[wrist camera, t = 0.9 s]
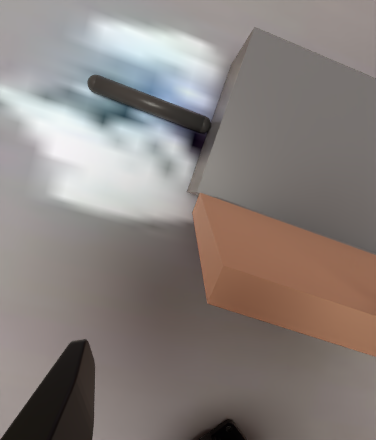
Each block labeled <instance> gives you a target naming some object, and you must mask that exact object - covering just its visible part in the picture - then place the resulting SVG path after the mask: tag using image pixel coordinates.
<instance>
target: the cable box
mask: <svg viewBox="0 0 376 440" xmlns="http://www.w3.org/2000/svg"><path fill="white" fill-rule="evenodd" d="M88 87H89V89H90V90H91V91H92V92H94V93H97V94H100V95H102V96H105V97H108V98H110V99H113V100H115V101H118V102H121V103H123V104H126V105H129V106H131V107H134V108H137V109H139V110H142V111H145V112H147V113H150V114H152V115H155V116H158V117H160V118H163V119H166V120H168V121H171V122H174V123H176V124H179V125H182V126H184V127H187V128H190V129H192V130H195V131H197V132H200V133H205V132H207V131H208V133H207V136H206V139H205V142H204V144H203V147H202V150H201V153H200V156H199V159H198V162H197V165H196V167H195V170H194V173H193V176H192V179H191V182H190V185H189V187H188V190H187V192H189V193H191V194H194V195H197V196H199V194H200V193H203V194H206V195H208V196H211V197H214V198H215V197H219V198H222V199H224V200H227V201H230V202H233V203H236V204H238V205H241V206H244V207H247V208H250V209H252V210H255V211H258V212H261V213H264V214H266V215H269V216H272V217H275V218H278V219H280V220H283V221H286V222H289V223H292V224H294V225H297V226H300V227H303V228H306V229H308V230H311V231H314V232H317V233H320V234H323V235H325V236H328V237H331V238H334V239H337V240H339V241H342V242H345V243H348V244H351V245H353V246H356V247H359V248H362V249H365V250H367V251H370V252H373V253H376V78H374V77H371V76H369V75H367V74H364V73H362V72H359V71H357V70H355V69H352V68H350V67H348V66H345V65H343V64H341V63H338V62H336V61H334V60H331V59H329V58H327V57H324V56H322V55H320V54H317V53H315V52H312V51H310V50H308V49H305V48H303V47H301V46H298V45H296V44H294V43H291V42H289V41H287V40H284V39H282V38H280V37H277V36H275V35H273V34H270V33H268V32H265V31H263V30H261V29H258V28H256V27H254V29H253V30H252V32H251V34H250V35H249V37H248V38H247V40H246V42H245V43H244V45H243V47H242V48H241V50H240V51H239V53H238V55H237V56H236V58H235V60H234V61H233V63H232V64H231V67H230V70H229V73H228V76H227V79H226V81H225V84H224V87H223V90H222V93H221V96H220V99H219V102H218V104H217V107H216V110H215V113H214V116H213V119H212V122H210V120H209V118H207V117H206V116H203V115H201V114H198V113H195V112H193V111H190V110H188V109H185V108H182V107H180V106H177V105H175V104H172V103H169V102H167V101H164V100H162V99H159V98H156V97H154V96H151V95H149V94H146V93H143V92H141V91H138V90H136V89H133V88H130V87H128V86H125V85H123V84H120V83H118V82H115V81H112V80H110V79H107V78H105V77H102V76H99V75H92V76H90V77H89V79H88Z"/></svg>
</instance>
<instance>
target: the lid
mask: <svg viewBox="0 0 376 440" xmlns="http://www.w3.org/2000/svg"><path fill="white" fill-rule="evenodd" d="M192 214H193V220H194V226H195V232H196V238H197V244H198V250H199V256H200V262H201V268H202V274H203V280H204V286H205V292H206V298H207V304H210V305H214V306H217V307H220V308H223V309H226V310H229V311H233V312H236V313H239V314H242V315H245V316H248V317H252V318H255V319H258V320H261V321H264V322H267V323H271V324H274V325H277V326H280V327H283V328H286V329H290V330H293V331H296V332H299V333H302V334H305V335H309V336H312V337H315V338H318V339H321V340H324V341H328V342H331V343H334V344H337V345H340V346H343V347H347V348H350V349H353V350H356V351H359V352H362V353H366V354H369V355H372V356H375V357H376V253H373V252H370V251H367V250H365V249H362V248H359V247H356V246H353V245H351V244H348V243H345V242H342V241H339V240H337V239H334V238H331V237H328V236H325V235H323V234H320V233H317V232H314V231H311V230H308V229H306V228H303V227H300V226H297V225H294V224H292V223H289V222H286V221H283V220H280V219H278V218H275V217H272V216H269V215H266V214H264V213H261V212H258V211H255V210H252V209H250V208H247V207H244V206H241V205H238V204H236V203H233V202H230V201H227V200H224V199H222V198H219V197H215V198H214V197H211V196H208V195H206V194H203V193H200V194H199V196H198V199H197V202H196V204H195V207H194V209H193V212H192Z"/></svg>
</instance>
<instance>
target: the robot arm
mask: <svg viewBox="0 0 376 440" xmlns="http://www.w3.org/2000/svg"><path fill="white" fill-rule="evenodd" d="M94 393H95V362H94V358H93V355H92V351H91V348H90V345H89V342H88V341H87V340H86V339H83V340H77V341H72V342H71V343H70V344H69V345H68V346H67V348H66V349H65V350H64V352H63V353H62V355H61V356H60V357H59V359H58V360H57V362H56V363H55V364H54V366H53V367H52V368H51V370H50V371H49V373H48V374H47V375H46V377H45V378H44V380H43V381H42V382H41V384H40V385H39V387H38V388H37V389H36V391H35V392H34V393H33V395H32V396H31V398H30V399H29V400H28V402H27V403H26V405H25V406H24V407H23V409H22V410H21V412H20V413H19V414H18V416H17V417H16V418H15V420H14V421H13V423H12V424H11V425H10V427H9V428H8V430H7V431H6V432H5V434H4V435H3V437H2V438H1V439H0V440H92V436H93V427H94ZM228 426H231V428H229V429H227V427H228ZM199 440H247V439H246V438H245V437H244V435H243V434H242V433H241V431H240V430H239V429H238V427H237V426H236V425H235V424H234V422H233V421H232V420H226V421H224V422H223V423H222V424H220V425H219V426H218V427H216V428H215V429H214V430H212V431H211V432H210V433H208V434H206V435H205V436H203V437H202V438H201V439H199Z"/></svg>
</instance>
